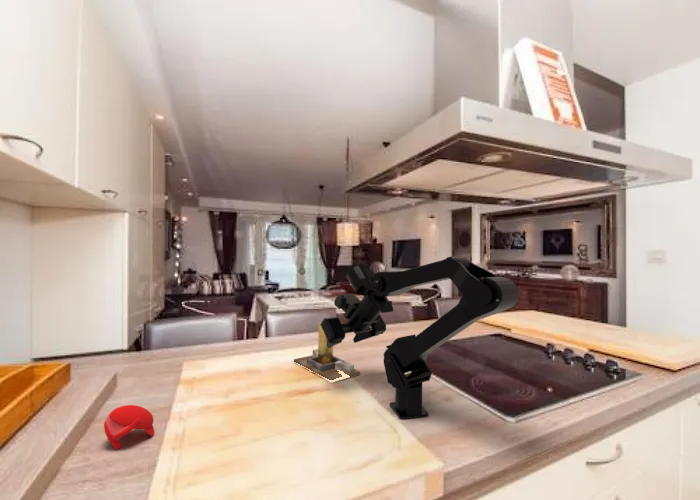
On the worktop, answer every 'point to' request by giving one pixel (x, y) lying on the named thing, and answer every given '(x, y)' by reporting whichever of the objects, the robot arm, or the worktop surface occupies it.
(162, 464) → the worktop surface
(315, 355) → the shaft rig
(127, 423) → the red curved piece
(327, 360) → the olive gold cylinder
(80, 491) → the worktop surface
